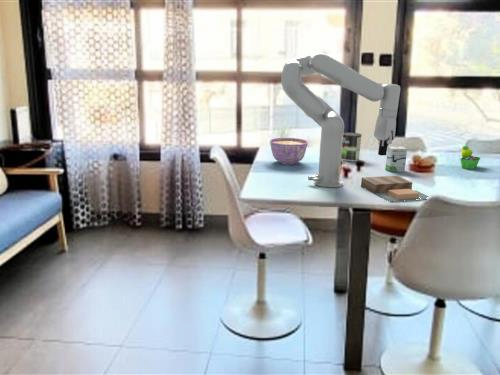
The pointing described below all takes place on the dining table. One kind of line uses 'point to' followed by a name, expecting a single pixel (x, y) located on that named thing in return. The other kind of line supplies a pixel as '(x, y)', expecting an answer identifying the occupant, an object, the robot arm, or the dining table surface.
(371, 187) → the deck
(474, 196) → the dining table surface
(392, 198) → the mat
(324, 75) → the robot arm
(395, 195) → the tile
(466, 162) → the fruit basket
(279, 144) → the bowl of food
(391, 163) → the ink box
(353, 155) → the coffee can
